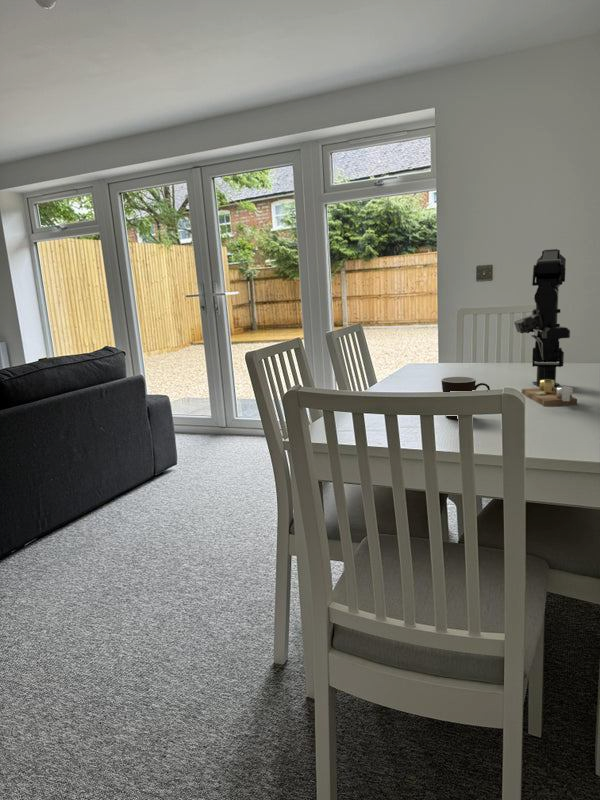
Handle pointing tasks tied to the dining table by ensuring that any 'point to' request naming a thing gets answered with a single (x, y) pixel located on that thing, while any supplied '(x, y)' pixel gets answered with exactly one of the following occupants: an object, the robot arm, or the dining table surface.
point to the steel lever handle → (564, 393)
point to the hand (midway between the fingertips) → (544, 360)
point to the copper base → (547, 397)
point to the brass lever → (547, 385)
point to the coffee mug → (459, 386)
